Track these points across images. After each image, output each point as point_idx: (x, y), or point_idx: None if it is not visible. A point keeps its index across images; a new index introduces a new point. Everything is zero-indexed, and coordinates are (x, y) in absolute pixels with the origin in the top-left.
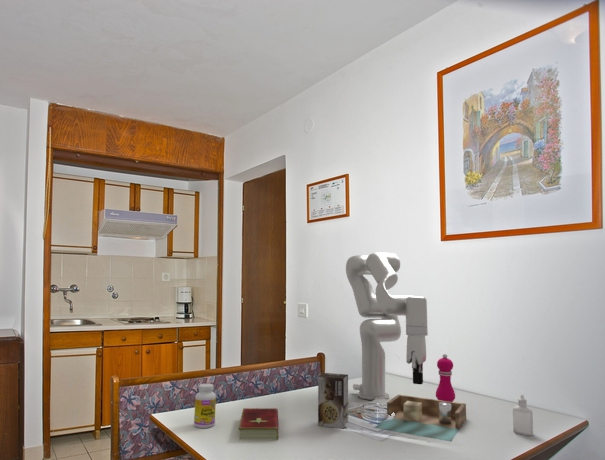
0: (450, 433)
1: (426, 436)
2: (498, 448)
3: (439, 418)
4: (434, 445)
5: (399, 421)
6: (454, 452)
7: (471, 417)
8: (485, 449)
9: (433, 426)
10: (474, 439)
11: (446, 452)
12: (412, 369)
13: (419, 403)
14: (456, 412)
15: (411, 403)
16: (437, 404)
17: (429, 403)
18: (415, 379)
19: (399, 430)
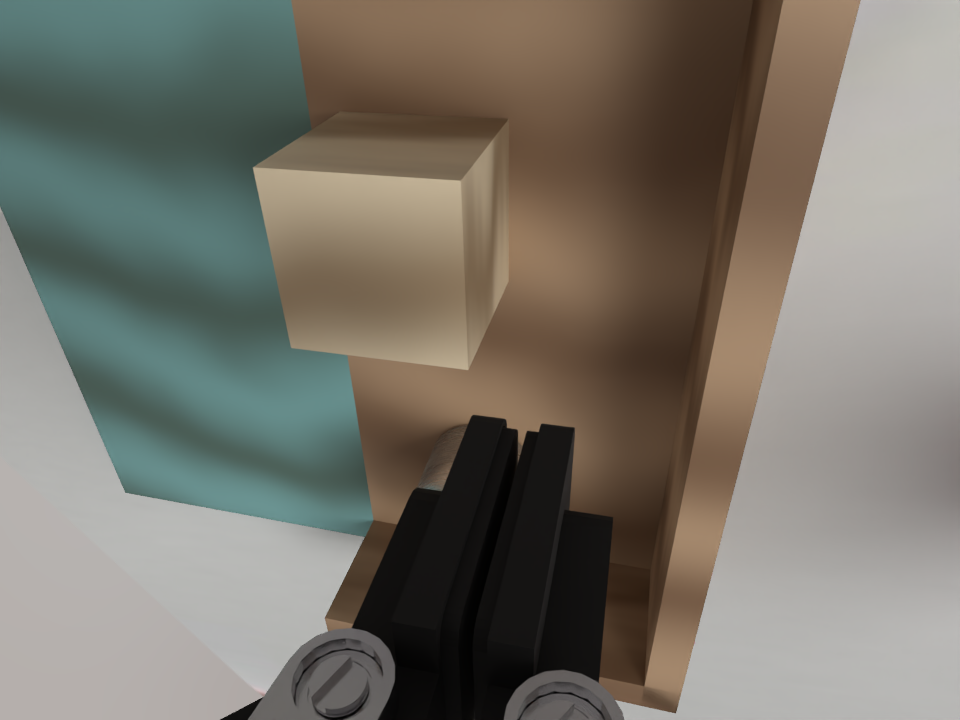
0: (250, 492)
1: (77, 369)
2: (265, 644)
3: (439, 452)
4: (56, 402)
5: (237, 91)
6: (56, 488)
7: (838, 614)
8: (209, 601)
9: (314, 394)
10: (315, 578)
11: (23, 457)
12: (253, 707)
13: (419, 349)
14: (330, 625)
15: (352, 260)
16: (677, 485)
17: (695, 407)
18: (403, 526)
19: (20, 165)
